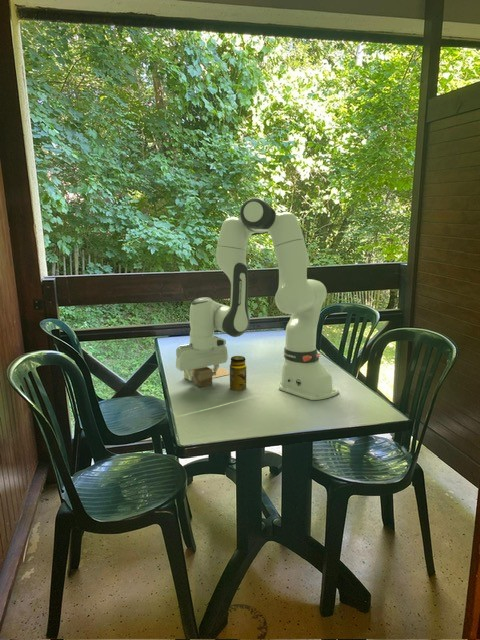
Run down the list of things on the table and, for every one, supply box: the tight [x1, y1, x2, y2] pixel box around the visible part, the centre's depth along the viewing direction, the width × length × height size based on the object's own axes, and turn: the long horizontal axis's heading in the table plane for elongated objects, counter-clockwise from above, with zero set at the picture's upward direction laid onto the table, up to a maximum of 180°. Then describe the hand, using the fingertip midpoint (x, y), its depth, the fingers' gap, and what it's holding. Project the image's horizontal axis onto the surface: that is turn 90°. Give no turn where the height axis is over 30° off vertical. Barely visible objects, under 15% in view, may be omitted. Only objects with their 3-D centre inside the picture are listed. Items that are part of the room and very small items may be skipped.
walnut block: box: [193, 366, 213, 388], centre depth 161 cm, size 5×5×6 cm
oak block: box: [183, 369, 194, 382], centre depth 168 cm, size 5×5×6 cm
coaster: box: [209, 366, 230, 380], centre depth 175 cm, size 11×11×1 cm
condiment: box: [229, 355, 247, 392], centre depth 157 cm, size 7×8×12 cm
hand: (202, 377), depth 162 cm, fingers open, 8 cm apart
